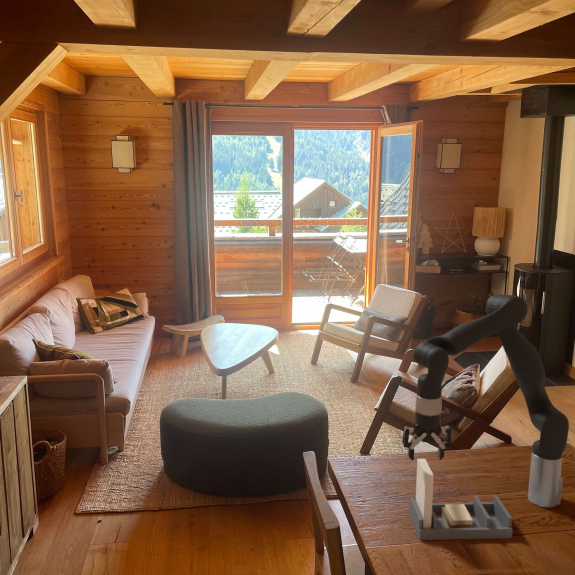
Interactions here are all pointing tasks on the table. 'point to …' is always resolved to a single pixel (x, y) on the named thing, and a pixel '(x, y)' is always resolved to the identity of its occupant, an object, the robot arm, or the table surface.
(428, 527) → the white rectangular board
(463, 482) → the table surface
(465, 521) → the offcuts
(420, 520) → the rack
